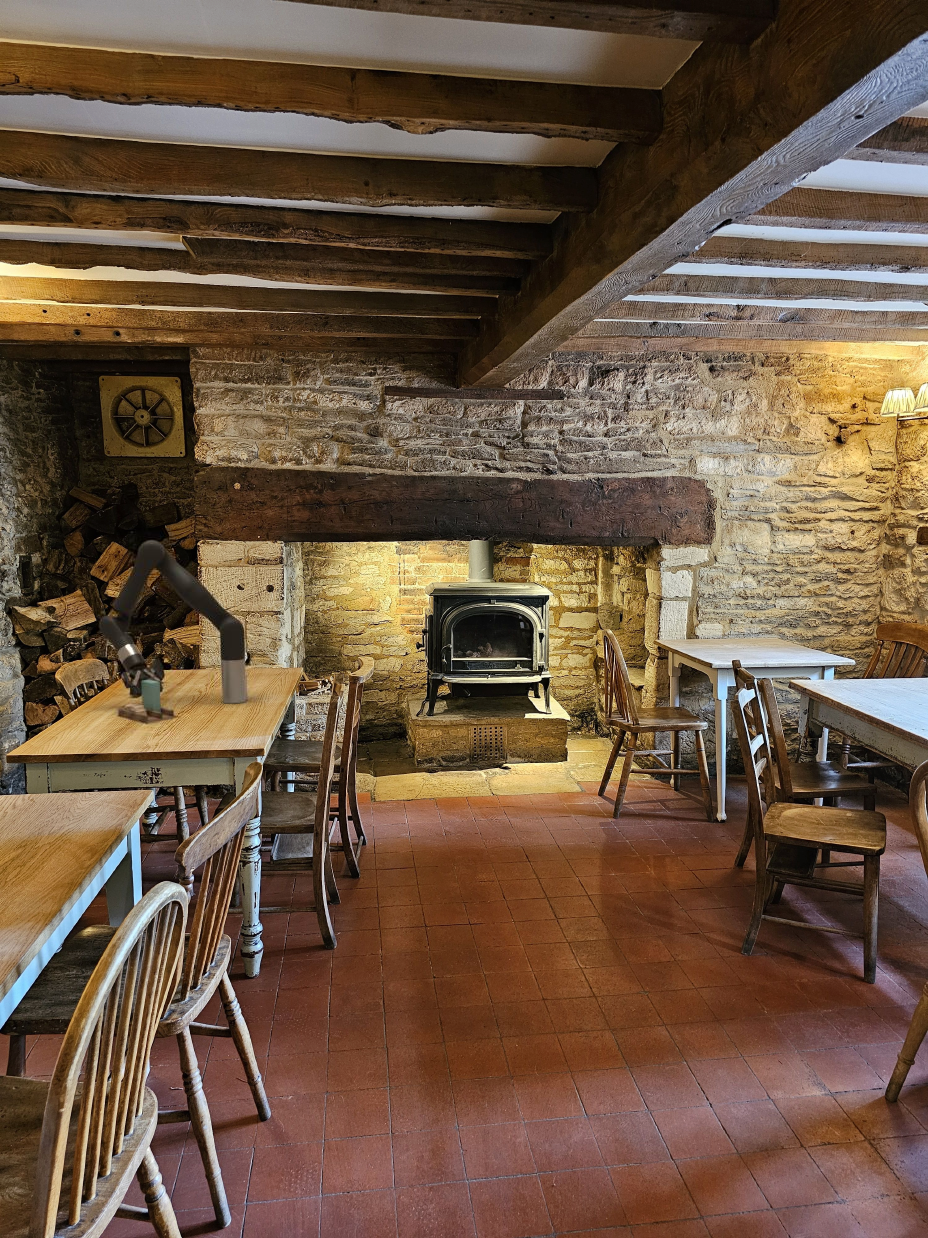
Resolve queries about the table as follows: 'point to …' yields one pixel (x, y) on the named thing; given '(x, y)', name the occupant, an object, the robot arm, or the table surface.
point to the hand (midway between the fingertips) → (150, 693)
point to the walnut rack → (148, 715)
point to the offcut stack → (136, 709)
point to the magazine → (160, 668)
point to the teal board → (151, 695)
